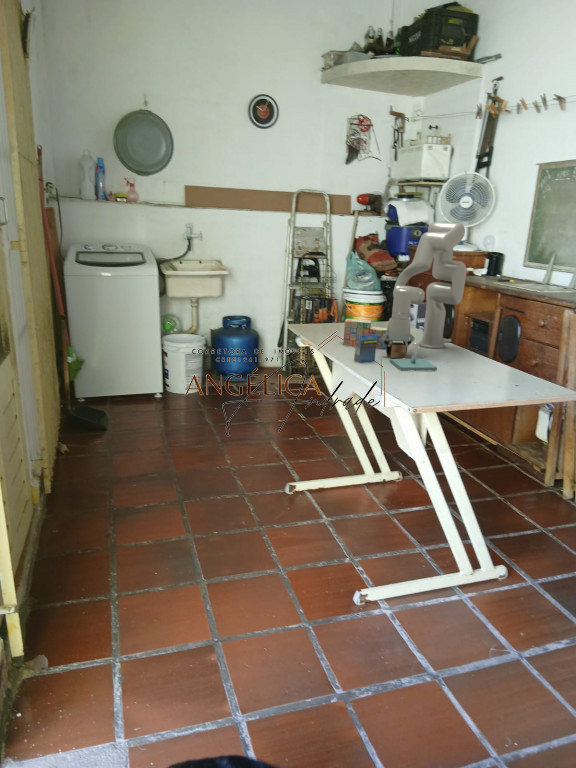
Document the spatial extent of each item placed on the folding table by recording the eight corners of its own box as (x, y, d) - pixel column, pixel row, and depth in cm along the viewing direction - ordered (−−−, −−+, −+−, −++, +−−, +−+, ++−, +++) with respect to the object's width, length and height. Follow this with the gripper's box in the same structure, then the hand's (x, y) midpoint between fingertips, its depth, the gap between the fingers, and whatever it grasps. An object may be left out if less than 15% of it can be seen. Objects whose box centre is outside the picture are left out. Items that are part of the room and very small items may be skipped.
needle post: (414, 362, 240) (416, 342, 237) (416, 363, 238) (418, 343, 235) (410, 362, 240) (412, 342, 237) (411, 363, 238) (414, 343, 235)
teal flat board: (424, 361, 247) (424, 358, 247) (436, 370, 234) (437, 367, 234) (389, 361, 245) (390, 358, 244) (400, 370, 231) (401, 367, 231)
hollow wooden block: (400, 354, 258) (401, 342, 256) (405, 358, 251) (406, 345, 250) (386, 354, 257) (388, 342, 255) (391, 358, 250) (392, 345, 249)
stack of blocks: (387, 346, 273) (390, 322, 269) (386, 349, 267) (389, 324, 263) (344, 342, 277) (346, 318, 273) (342, 345, 271) (344, 320, 268)
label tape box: (369, 358, 249) (372, 331, 245) (375, 361, 245) (377, 333, 241) (353, 360, 244) (356, 333, 241) (359, 362, 241) (361, 335, 237)
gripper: (415, 314, 253) (411, 352, 259) (379, 314, 250) (375, 352, 256) (421, 318, 246) (417, 356, 252) (384, 317, 243) (380, 356, 249)
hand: (396, 354), depth 254 cm, fingers closed on hollow wooden block, 6 cm apart
